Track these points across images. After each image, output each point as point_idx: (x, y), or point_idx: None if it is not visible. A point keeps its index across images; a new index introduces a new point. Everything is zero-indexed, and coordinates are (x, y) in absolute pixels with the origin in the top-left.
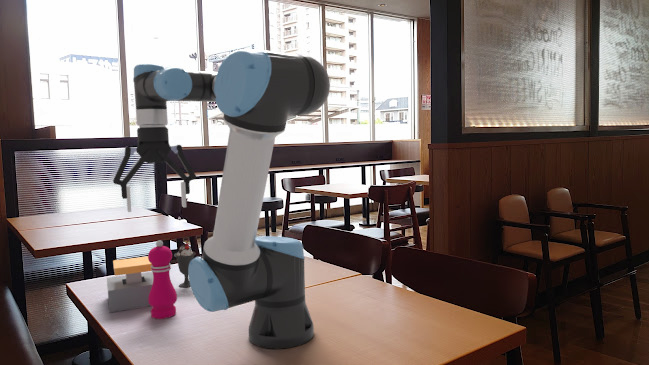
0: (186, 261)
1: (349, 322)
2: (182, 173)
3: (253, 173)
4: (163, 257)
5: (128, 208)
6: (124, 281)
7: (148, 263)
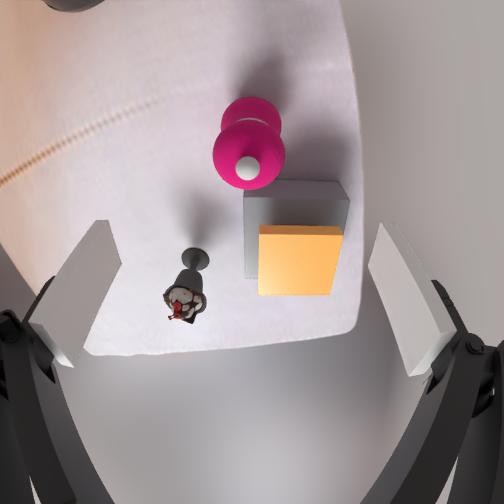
0: (185, 281)
1: (9, 11)
2: (13, 384)
3: None
4: (242, 121)
5: (398, 233)
6: None
7: (268, 241)
